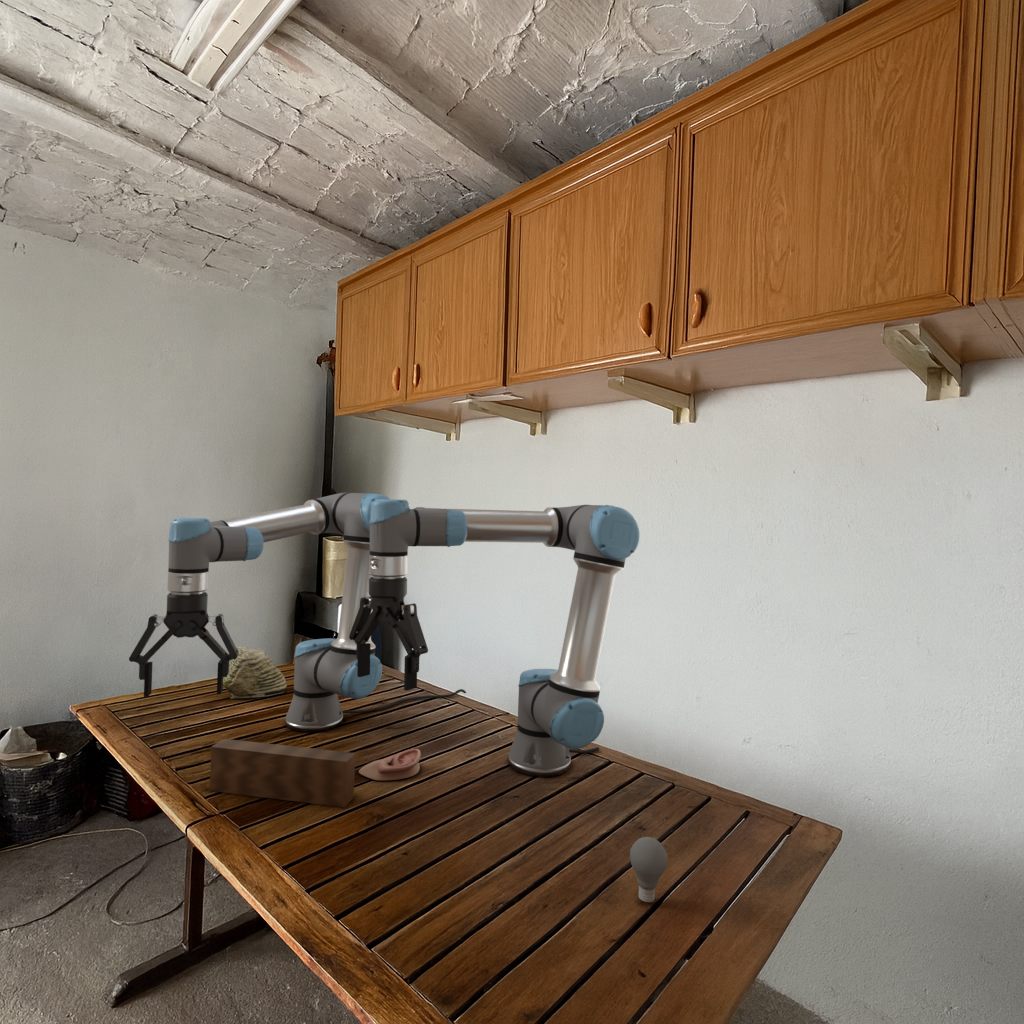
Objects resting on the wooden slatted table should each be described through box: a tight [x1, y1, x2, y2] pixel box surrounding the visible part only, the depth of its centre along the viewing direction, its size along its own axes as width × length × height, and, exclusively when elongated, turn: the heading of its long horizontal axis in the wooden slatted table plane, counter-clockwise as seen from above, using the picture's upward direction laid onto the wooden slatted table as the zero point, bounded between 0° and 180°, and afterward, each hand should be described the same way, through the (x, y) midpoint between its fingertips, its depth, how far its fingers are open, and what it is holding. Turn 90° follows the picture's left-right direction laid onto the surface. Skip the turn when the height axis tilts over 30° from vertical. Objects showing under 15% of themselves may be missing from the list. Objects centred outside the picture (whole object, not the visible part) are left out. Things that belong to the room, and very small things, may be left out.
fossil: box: [223, 646, 288, 699], centre depth 198 cm, size 9×18×15 cm, turn 132°
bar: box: [209, 738, 356, 808], centre depth 134 cm, size 30×5×10 cm, turn 81°
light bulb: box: [629, 836, 668, 903], centre depth 103 cm, size 6×6×10 cm
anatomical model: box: [358, 748, 422, 782], centre depth 147 cm, size 13×4×12 cm
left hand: (184, 693), depth 132 cm, fingers open, 13 cm apart
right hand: (386, 682), depth 127 cm, fingers open, 13 cm apart
